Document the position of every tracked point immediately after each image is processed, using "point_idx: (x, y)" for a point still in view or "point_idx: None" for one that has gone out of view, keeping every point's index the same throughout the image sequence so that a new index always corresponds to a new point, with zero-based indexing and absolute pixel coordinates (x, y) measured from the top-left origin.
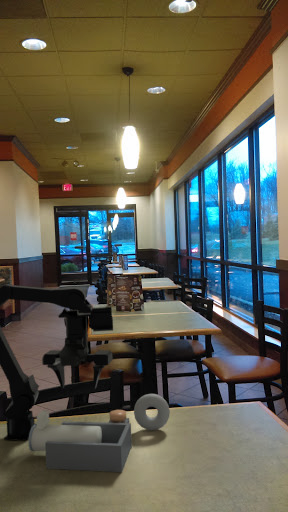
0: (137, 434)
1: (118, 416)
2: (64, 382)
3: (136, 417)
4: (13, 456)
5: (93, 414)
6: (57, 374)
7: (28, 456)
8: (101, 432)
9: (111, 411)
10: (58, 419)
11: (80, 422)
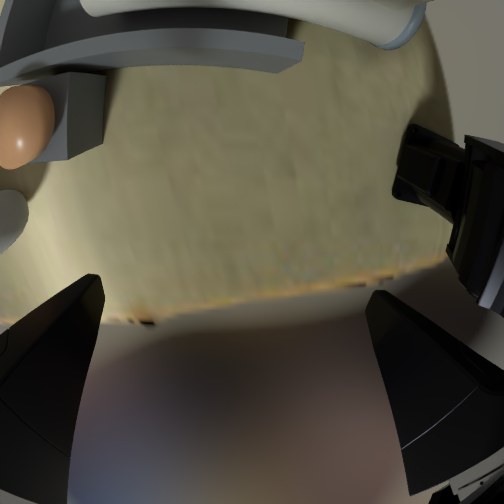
0: (35, 167)
1: (4, 91)
2: (374, 340)
3: (10, 201)
4: (416, 36)
5: (214, 305)
6: (474, 359)
7: None
8: (88, 12)
9: (35, 141)
10: (327, 272)
11: (192, 38)
